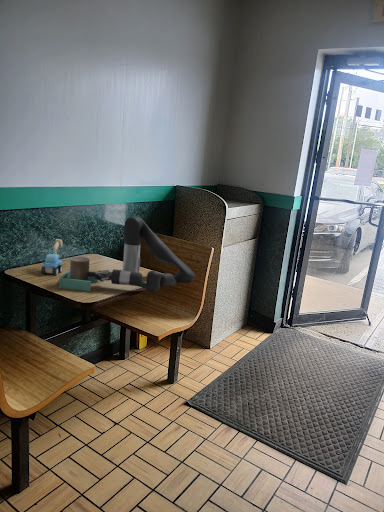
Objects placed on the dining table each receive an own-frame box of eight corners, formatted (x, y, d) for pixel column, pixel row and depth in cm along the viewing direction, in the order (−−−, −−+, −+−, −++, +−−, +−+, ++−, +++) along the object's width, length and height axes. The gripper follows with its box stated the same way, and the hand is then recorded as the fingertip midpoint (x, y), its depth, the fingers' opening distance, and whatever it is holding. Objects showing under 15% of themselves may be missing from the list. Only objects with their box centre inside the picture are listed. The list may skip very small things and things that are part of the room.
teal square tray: (98, 281, 228) (98, 272, 227) (89, 291, 212) (90, 282, 210) (69, 278, 228) (70, 269, 227) (58, 288, 212) (59, 278, 211)
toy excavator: (67, 268, 245) (68, 239, 241) (55, 276, 229) (56, 245, 225) (52, 266, 246) (53, 237, 241) (40, 274, 229) (40, 243, 225)
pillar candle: (91, 285, 220) (93, 257, 217) (74, 288, 214) (75, 259, 211) (83, 280, 227) (84, 253, 224) (66, 282, 221) (67, 254, 218)
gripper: (118, 288, 213) (84, 284, 213) (123, 280, 225) (91, 277, 226) (119, 274, 211) (84, 270, 211) (124, 267, 224) (92, 263, 224)
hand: (88, 273), depth 218 cm, fingers closed
